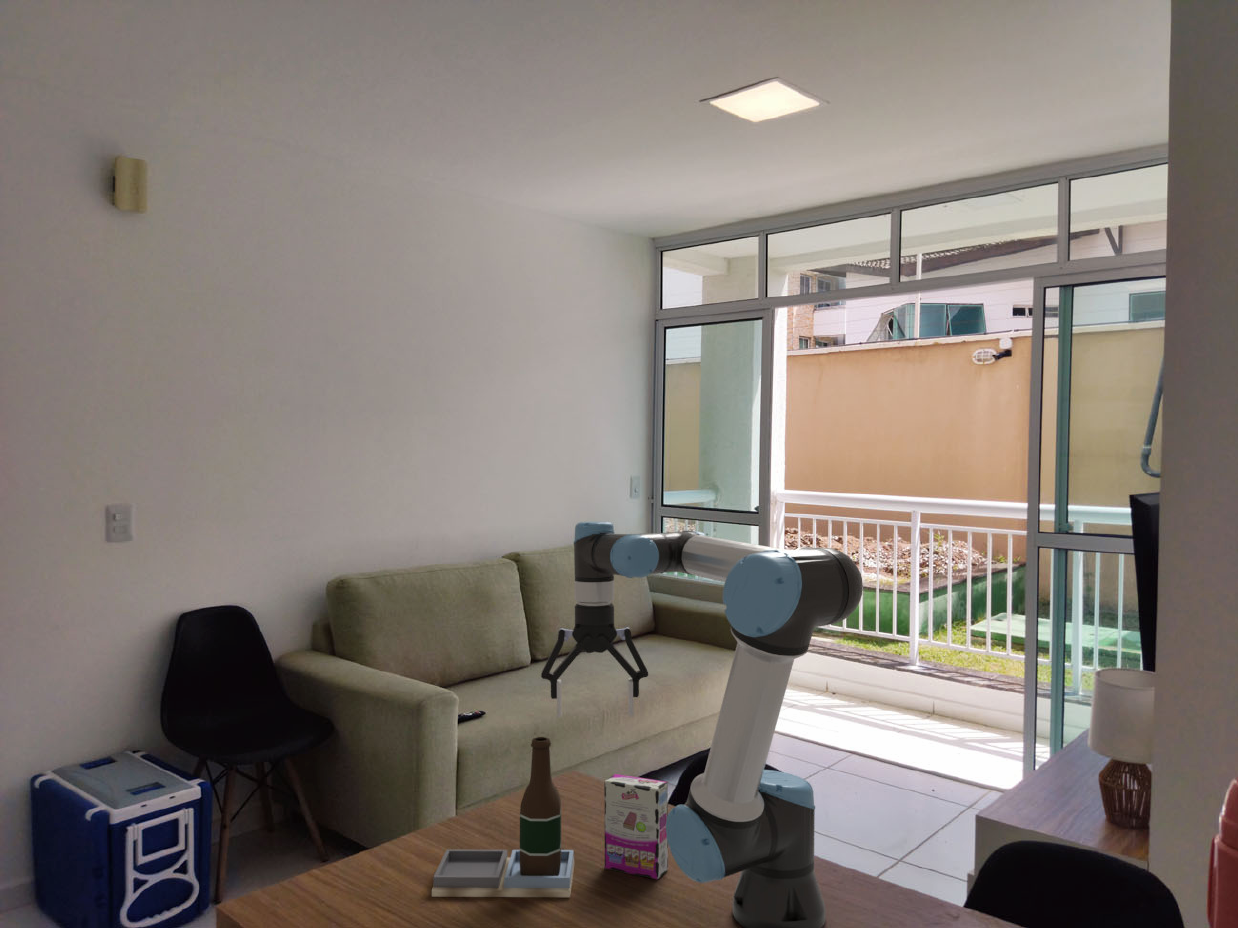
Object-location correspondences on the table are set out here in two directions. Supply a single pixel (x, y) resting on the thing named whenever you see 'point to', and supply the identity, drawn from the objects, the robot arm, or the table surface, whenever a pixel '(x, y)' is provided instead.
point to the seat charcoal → (470, 869)
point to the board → (503, 890)
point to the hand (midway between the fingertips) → (595, 715)
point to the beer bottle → (540, 817)
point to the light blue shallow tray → (518, 881)
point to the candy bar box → (636, 825)
